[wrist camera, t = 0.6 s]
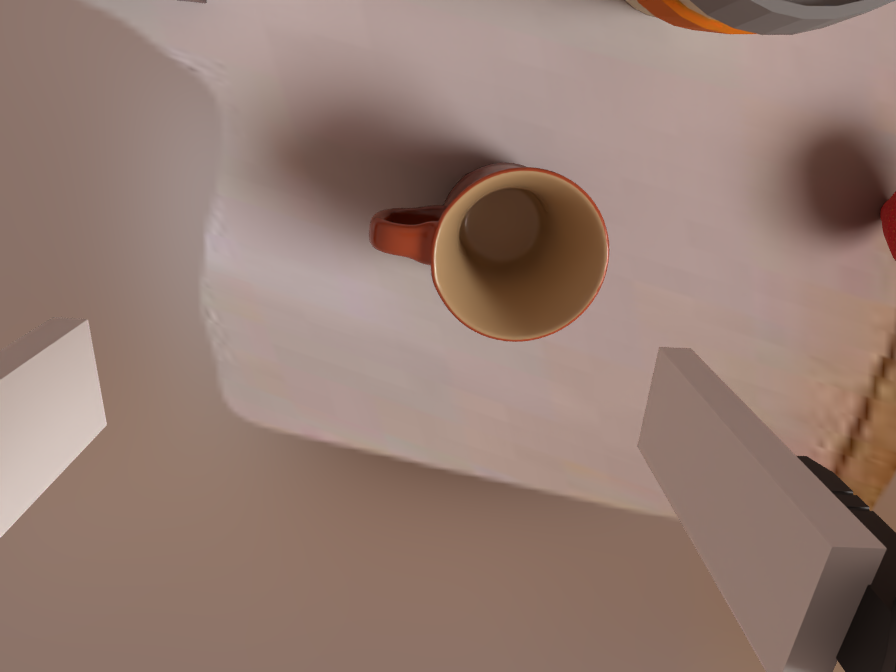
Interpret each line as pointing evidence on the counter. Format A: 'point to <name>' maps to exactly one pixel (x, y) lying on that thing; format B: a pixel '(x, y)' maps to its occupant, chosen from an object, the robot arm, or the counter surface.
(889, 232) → the strawberry
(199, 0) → the square hole fixture
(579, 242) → the mug
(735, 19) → the reusable coffee cup
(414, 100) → the counter surface
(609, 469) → the counter surface
